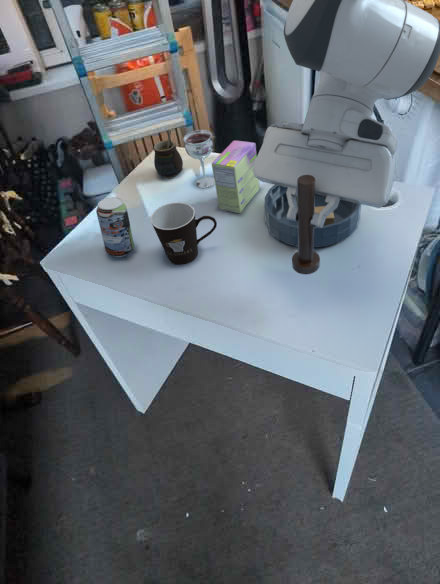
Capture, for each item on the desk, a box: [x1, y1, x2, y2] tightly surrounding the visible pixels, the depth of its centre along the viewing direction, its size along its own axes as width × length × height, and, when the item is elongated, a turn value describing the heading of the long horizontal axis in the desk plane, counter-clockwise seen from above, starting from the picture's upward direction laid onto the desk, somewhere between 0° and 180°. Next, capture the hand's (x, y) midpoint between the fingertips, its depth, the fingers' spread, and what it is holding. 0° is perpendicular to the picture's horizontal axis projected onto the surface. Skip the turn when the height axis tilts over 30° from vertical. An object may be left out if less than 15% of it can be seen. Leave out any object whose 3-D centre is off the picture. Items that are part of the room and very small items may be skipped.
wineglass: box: [182, 129, 215, 189], centre depth 103 cm, size 7×7×12 cm
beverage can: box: [95, 196, 135, 258], centre depth 89 cm, size 6×7×12 cm
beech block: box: [314, 206, 334, 227], centre depth 87 cm, size 4×4×4 cm
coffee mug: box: [150, 201, 218, 266], centre depth 86 cm, size 12×9×10 cm
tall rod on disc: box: [291, 175, 321, 275], centre depth 65 cm, size 4×4×16 cm
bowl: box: [263, 184, 362, 248], centre depth 90 cm, size 19×19×6 cm
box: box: [211, 140, 260, 214], centre depth 97 cm, size 10×6×12 cm, turn 152°
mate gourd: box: [152, 129, 184, 179], centre depth 109 cm, size 7×8×10 cm
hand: (304, 223), depth 64 cm, fingers closed on tall rod on disc, 2 cm apart
